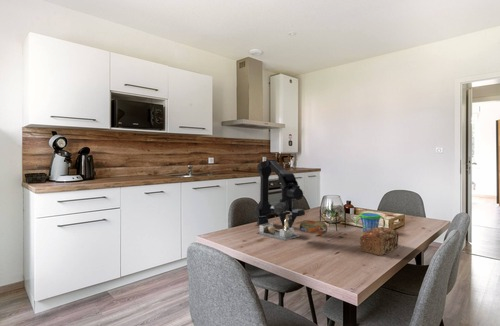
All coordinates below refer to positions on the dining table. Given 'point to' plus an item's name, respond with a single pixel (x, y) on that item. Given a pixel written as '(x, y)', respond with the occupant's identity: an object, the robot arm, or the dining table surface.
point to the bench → (275, 235)
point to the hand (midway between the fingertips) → (286, 227)
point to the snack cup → (370, 220)
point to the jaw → (286, 230)
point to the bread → (379, 240)
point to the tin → (313, 227)
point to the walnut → (271, 230)
